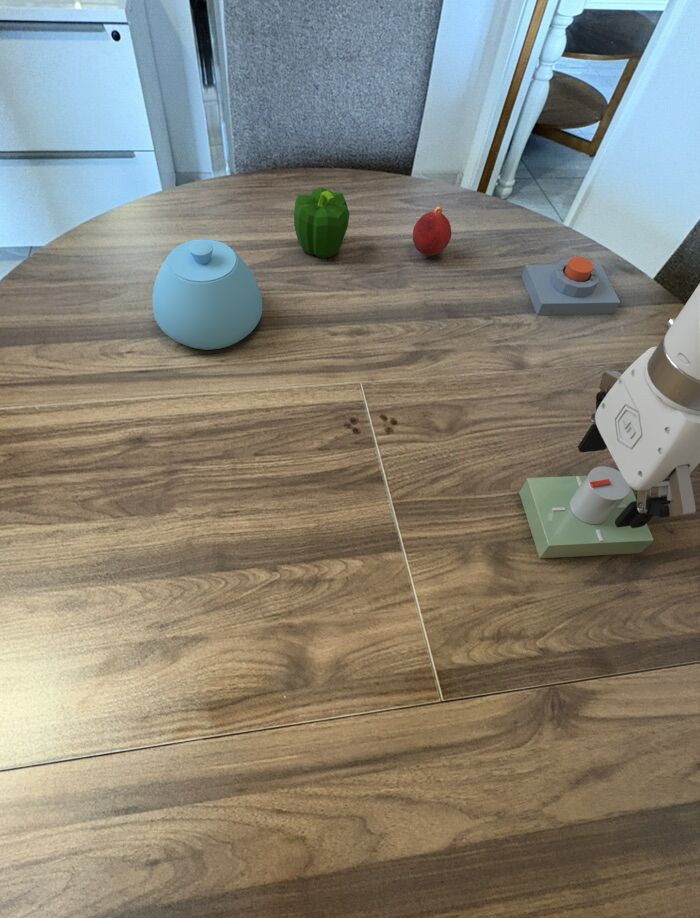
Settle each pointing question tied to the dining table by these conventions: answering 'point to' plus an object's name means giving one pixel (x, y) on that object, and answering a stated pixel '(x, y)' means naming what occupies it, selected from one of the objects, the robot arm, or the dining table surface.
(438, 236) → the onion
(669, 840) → the dining table surface
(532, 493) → the tap panel
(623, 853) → the dining table surface
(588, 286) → the button box
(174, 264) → the sugar bowl
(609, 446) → the robot arm
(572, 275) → the stop button
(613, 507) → the tap knob
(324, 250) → the bell pepper
